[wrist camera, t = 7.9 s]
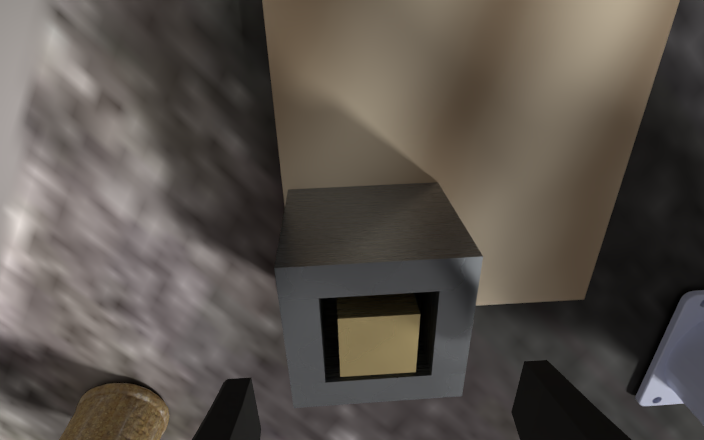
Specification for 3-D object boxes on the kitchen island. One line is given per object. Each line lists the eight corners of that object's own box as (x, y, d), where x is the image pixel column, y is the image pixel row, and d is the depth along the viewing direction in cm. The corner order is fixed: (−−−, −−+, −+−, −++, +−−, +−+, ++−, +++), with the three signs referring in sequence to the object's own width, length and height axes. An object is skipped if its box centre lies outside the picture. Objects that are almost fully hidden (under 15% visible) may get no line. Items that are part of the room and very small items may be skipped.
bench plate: (667, -35, 13) (691, -38, 13) (572, 285, 20) (584, 299, 19) (263, -28, 13) (259, -29, 12) (297, 300, 19) (296, 315, 18)
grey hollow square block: (438, 182, 16) (483, 256, 11) (428, 299, 18) (461, 396, 14) (288, 189, 15) (273, 268, 11) (300, 307, 18) (293, 407, 14)
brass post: (390, 216, 17) (420, 314, 12) (389, 263, 18) (415, 372, 13) (332, 219, 17) (337, 318, 12) (335, 266, 18) (340, 376, 13)
